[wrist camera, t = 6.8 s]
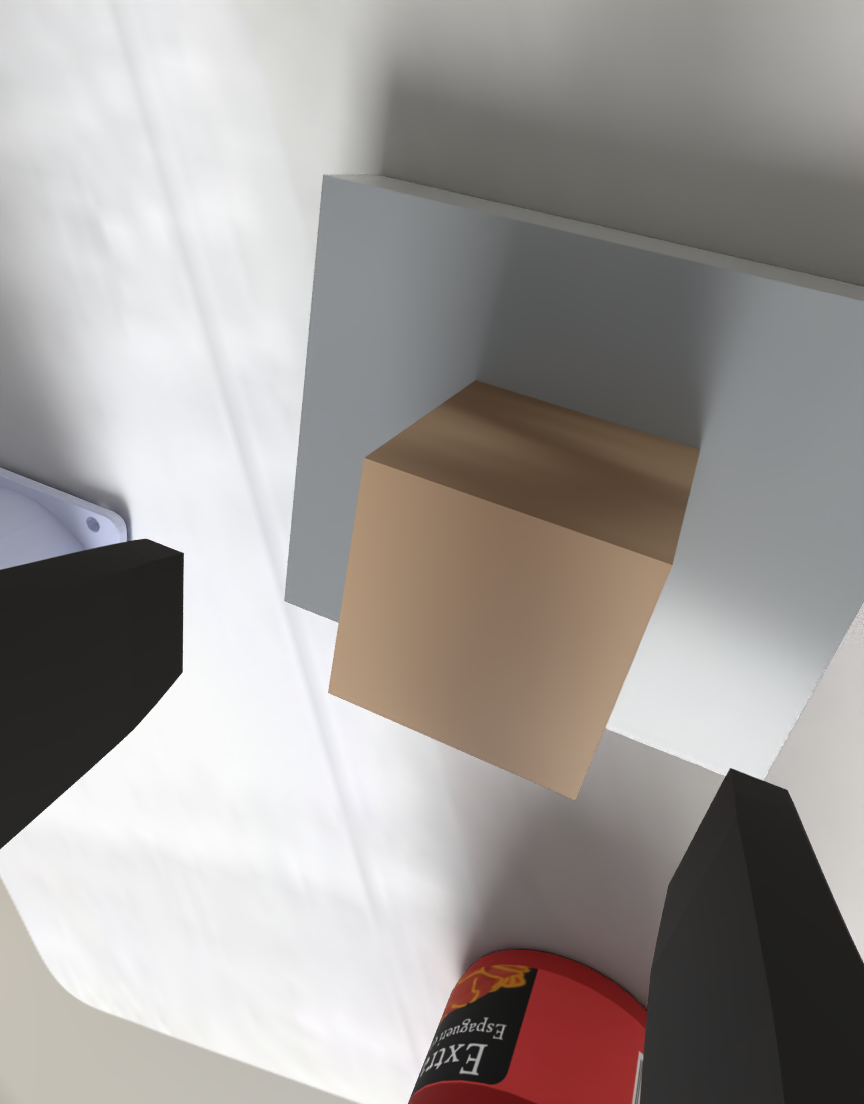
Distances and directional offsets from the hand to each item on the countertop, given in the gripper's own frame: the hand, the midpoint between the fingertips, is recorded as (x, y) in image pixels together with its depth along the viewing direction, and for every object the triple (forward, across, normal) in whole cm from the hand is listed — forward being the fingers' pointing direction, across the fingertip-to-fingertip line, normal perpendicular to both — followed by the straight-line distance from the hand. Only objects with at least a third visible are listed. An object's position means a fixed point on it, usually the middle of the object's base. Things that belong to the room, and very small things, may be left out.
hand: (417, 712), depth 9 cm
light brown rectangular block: (+7, 0, 0) cm, 7 cm away
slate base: (+10, 0, 0) cm, 10 cm away
